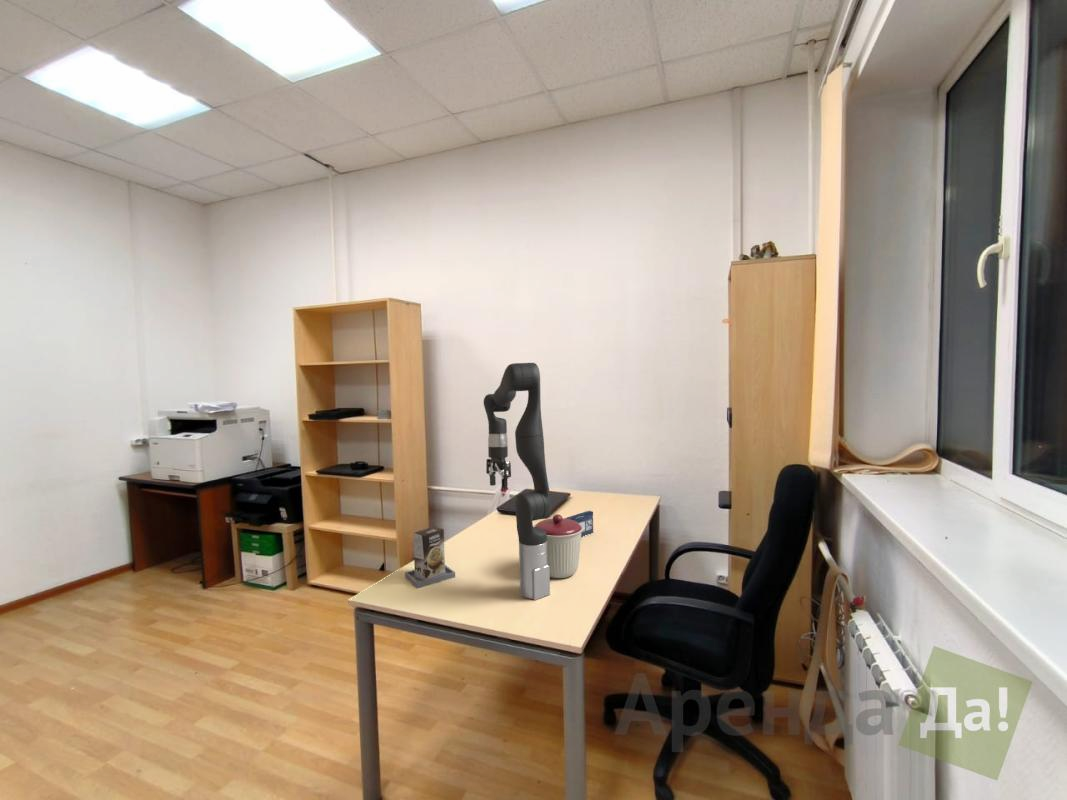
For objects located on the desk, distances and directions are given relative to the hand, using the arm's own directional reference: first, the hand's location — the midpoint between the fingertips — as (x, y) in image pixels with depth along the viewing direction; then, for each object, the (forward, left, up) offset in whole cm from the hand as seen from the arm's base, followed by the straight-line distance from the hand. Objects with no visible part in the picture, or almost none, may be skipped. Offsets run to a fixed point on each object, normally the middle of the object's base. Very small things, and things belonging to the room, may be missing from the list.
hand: (498, 486), depth 181 cm
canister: (-25, -9, -28) cm, 39 cm away
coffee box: (+1, +29, -28) cm, 40 cm away
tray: (+1, +29, -28) cm, 40 cm away
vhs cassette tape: (-2, -38, -28) cm, 47 cm away
